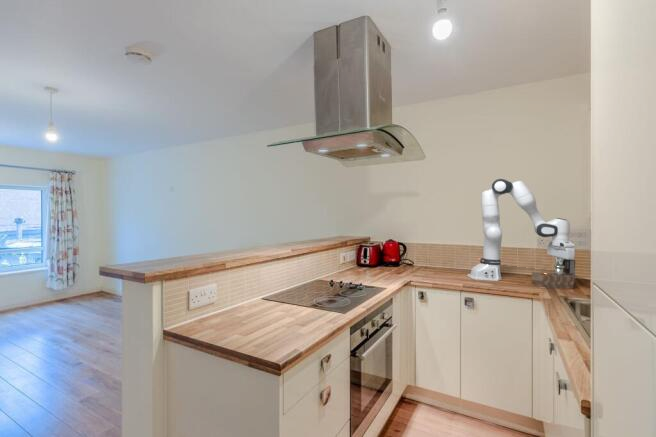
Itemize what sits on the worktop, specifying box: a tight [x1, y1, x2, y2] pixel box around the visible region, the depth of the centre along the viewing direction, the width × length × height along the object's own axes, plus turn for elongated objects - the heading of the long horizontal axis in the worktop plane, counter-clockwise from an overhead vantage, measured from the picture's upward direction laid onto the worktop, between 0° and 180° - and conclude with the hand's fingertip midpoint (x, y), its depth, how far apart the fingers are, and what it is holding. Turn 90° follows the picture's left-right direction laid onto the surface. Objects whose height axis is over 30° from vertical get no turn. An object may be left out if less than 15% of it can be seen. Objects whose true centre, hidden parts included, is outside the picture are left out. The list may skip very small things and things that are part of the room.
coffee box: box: [555, 259, 576, 285], centre depth 214 cm, size 9×6×16 cm
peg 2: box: [553, 264, 565, 275], centre depth 202 cm, size 6×6×9 cm
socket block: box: [531, 271, 575, 290], centre depth 203 cm, size 20×10×8 cm, turn 88°
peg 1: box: [540, 271, 553, 275], centre depth 203 cm, size 6×6×9 cm
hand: (559, 264), depth 202 cm, fingers closed
